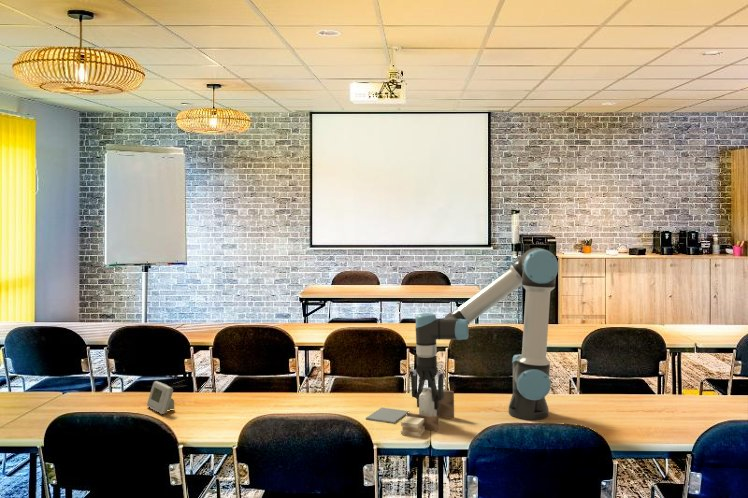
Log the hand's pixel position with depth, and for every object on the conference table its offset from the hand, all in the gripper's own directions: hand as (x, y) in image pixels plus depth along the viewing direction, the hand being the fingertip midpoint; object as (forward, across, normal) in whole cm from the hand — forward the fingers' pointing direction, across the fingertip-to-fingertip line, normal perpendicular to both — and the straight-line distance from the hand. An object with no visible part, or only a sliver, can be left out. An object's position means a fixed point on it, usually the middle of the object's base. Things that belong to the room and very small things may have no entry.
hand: (428, 416), depth 229 cm
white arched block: (+2, 0, 0) cm, 2 cm away
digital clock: (+2, +106, +29) cm, 110 cm away
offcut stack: (+2, +1, +12) cm, 12 cm away
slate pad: (+2, +17, -1) cm, 17 cm away
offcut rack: (+2, -1, -1) cm, 3 cm away
